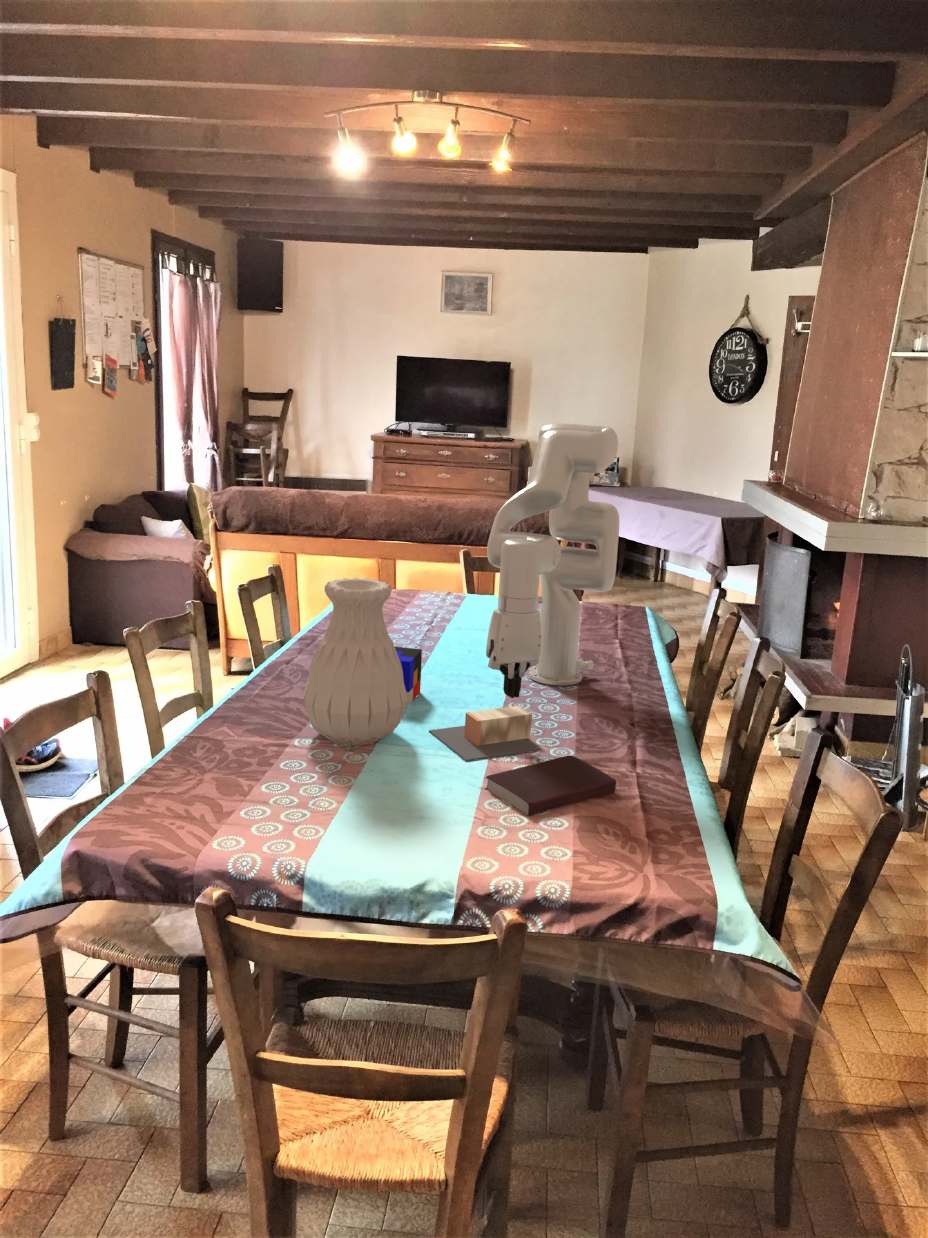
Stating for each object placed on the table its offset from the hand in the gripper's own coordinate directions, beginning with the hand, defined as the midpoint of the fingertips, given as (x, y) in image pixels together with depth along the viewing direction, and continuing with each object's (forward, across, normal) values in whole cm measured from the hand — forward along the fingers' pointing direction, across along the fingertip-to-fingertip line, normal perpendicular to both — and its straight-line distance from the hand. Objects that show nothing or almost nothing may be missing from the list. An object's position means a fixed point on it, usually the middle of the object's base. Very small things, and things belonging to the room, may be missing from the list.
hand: (511, 695), depth 189 cm
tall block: (+6, -3, 0) cm, 7 cm away
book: (+10, +6, +24) cm, 27 cm away
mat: (+9, +6, 0) cm, 10 cm away
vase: (+9, +28, -11) cm, 32 cm away
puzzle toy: (+9, +12, -30) cm, 34 cm away
